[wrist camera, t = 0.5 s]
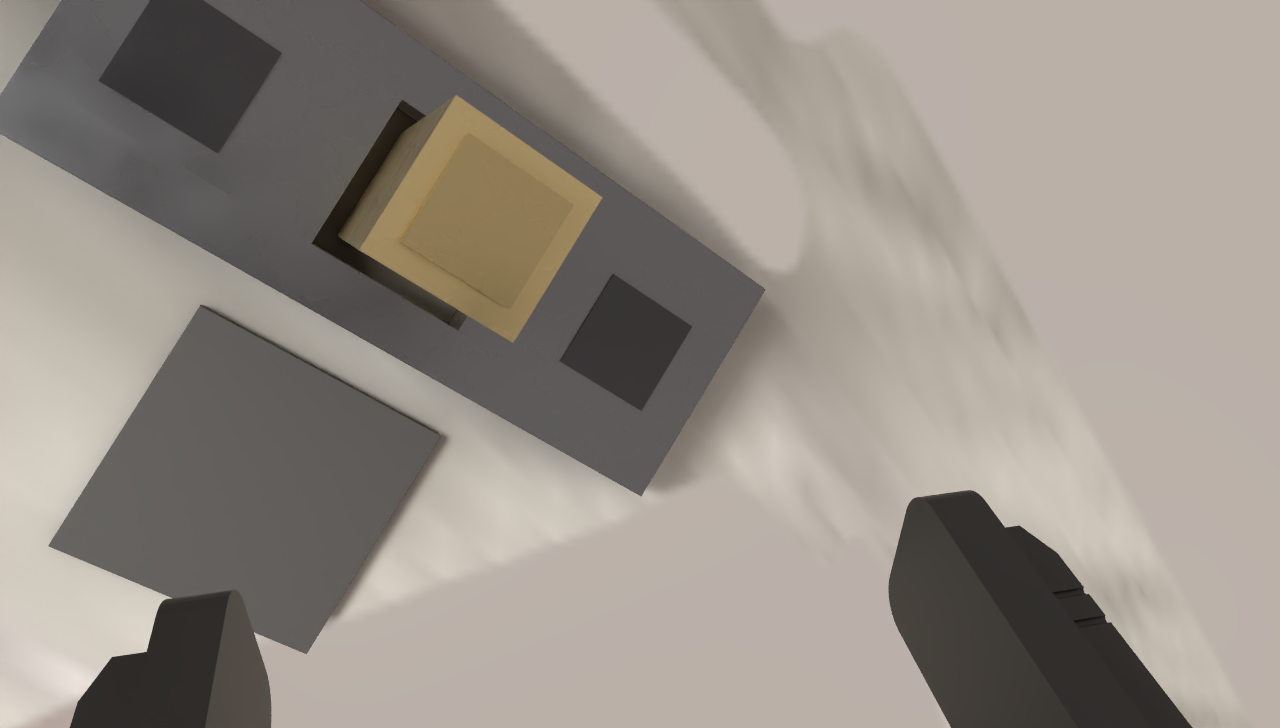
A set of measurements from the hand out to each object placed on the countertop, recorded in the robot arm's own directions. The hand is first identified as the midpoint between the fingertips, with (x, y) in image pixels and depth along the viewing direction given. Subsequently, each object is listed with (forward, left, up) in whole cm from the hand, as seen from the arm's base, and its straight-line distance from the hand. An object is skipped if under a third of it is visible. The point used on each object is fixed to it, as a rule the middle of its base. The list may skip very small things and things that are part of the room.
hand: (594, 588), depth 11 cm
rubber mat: (-1, -8, -27) cm, 28 cm away
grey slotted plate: (-1, +4, -27) cm, 28 cm away
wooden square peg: (-1, +4, -27) cm, 28 cm away
